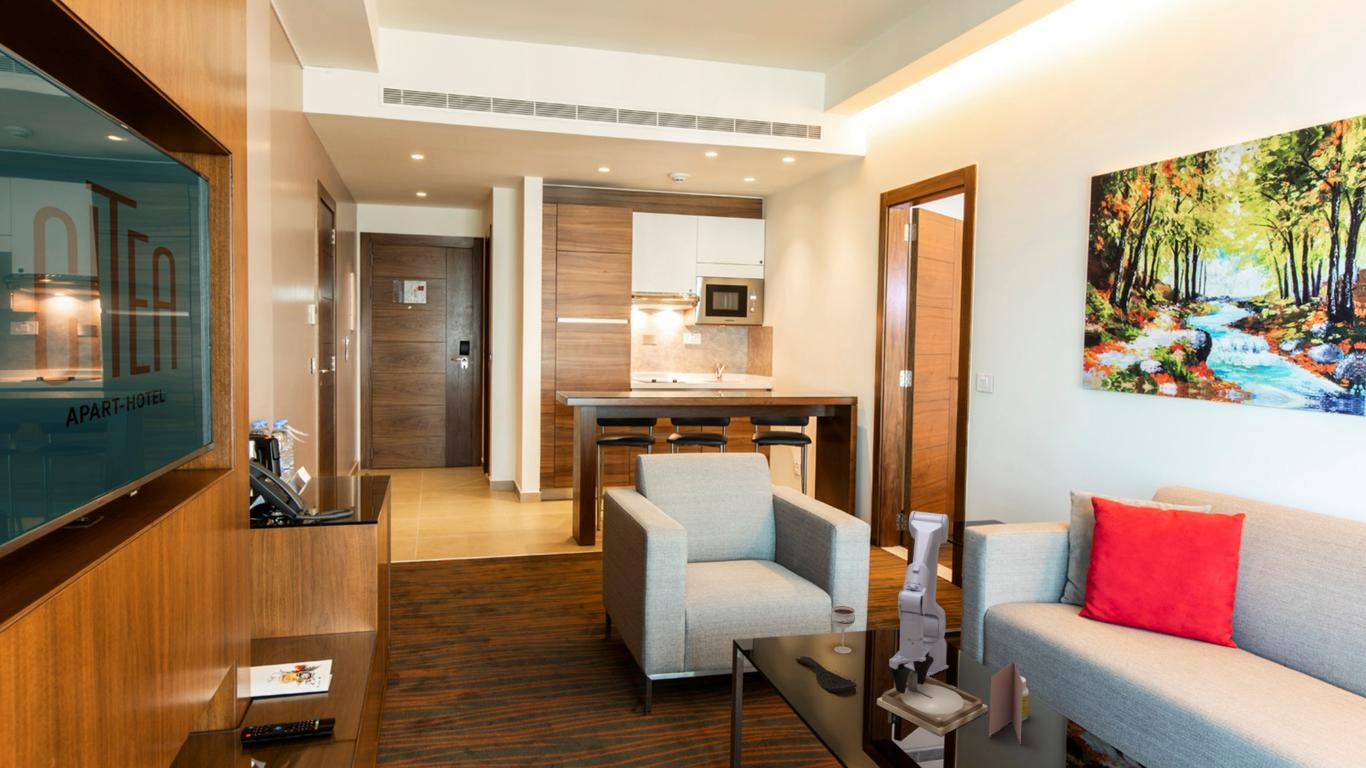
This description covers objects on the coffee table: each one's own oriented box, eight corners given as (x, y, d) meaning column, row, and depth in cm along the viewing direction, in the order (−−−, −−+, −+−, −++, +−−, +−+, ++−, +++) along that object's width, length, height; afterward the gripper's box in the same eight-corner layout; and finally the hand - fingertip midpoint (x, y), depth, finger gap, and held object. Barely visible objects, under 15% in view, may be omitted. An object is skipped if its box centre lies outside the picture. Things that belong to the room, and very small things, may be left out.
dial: (975, 704, 207) (976, 683, 206) (939, 723, 198) (939, 702, 197) (925, 682, 219) (925, 662, 218) (888, 699, 209) (889, 679, 209)
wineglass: (830, 644, 246) (830, 605, 245) (853, 645, 246) (854, 606, 244) (831, 654, 239) (832, 614, 238) (855, 655, 239) (856, 615, 237)
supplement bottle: (1017, 724, 200) (1018, 685, 199) (999, 714, 205) (1000, 676, 204) (1032, 718, 203) (1034, 680, 202) (1014, 709, 208) (1016, 671, 207)
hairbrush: (810, 647, 239) (863, 679, 216) (810, 659, 239) (864, 692, 216) (785, 652, 235) (837, 686, 213) (785, 665, 236) (837, 700, 213)
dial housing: (924, 683, 221) (924, 672, 221) (987, 711, 206) (988, 700, 206) (876, 704, 210) (877, 693, 210) (940, 736, 195) (940, 724, 195)
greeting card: (1008, 719, 203) (1010, 660, 201) (1038, 731, 197) (1041, 670, 196) (985, 736, 195) (987, 675, 193) (1016, 749, 190) (1018, 686, 188)
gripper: (906, 649, 203) (904, 702, 204) (942, 634, 212) (941, 685, 213) (883, 639, 209) (882, 691, 210) (919, 625, 217) (918, 675, 219)
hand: (910, 687), depth 212 cm, fingers open, 7 cm apart
